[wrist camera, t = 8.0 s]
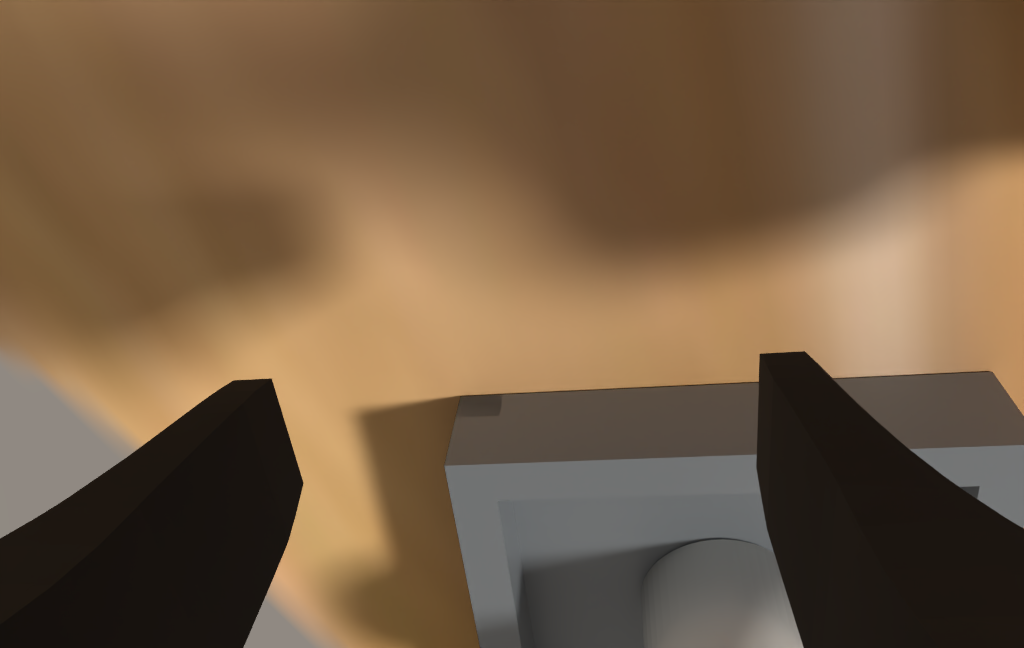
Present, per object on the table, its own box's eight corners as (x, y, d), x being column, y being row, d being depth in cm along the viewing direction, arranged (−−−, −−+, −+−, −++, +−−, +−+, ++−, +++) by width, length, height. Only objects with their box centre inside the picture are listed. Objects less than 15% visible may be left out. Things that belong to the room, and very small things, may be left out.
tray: (992, 371, 22) (1043, 444, 20) (926, 716, 29) (957, 803, 27) (460, 396, 24) (444, 465, 22) (516, 715, 31) (509, 796, 29)
